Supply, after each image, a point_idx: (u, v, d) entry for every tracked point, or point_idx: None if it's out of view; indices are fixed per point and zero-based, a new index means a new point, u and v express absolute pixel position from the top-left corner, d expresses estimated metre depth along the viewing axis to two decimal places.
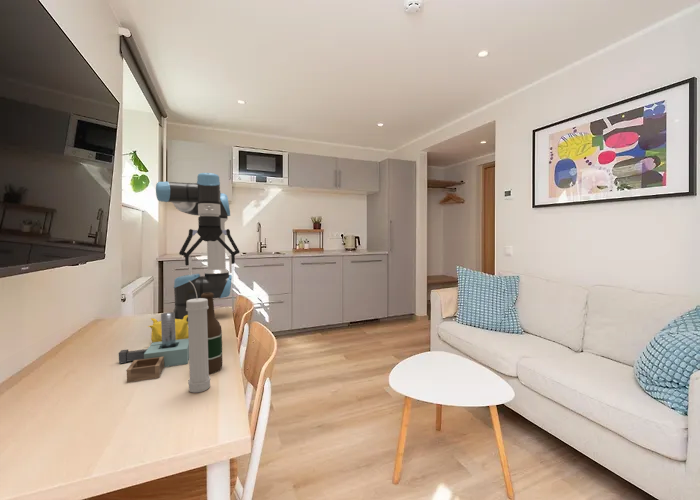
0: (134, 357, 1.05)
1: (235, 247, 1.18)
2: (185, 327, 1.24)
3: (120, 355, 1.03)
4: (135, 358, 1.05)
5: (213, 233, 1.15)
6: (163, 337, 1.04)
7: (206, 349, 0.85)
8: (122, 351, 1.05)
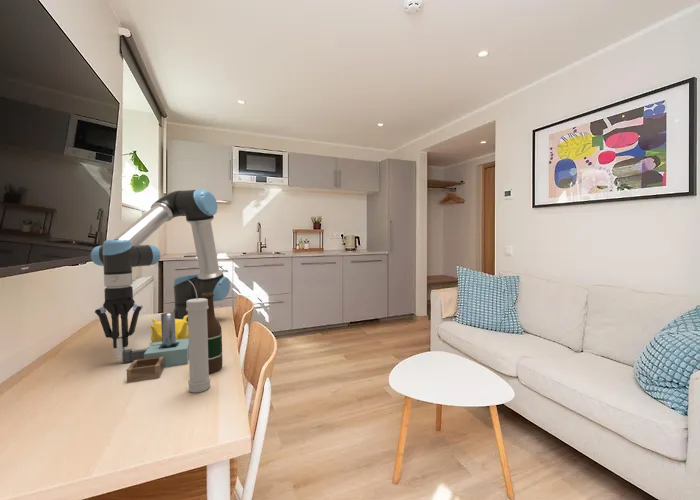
0: (138, 357, 1.06)
1: (131, 328, 1.05)
2: (185, 327, 1.24)
3: (124, 355, 1.04)
4: (139, 358, 1.06)
5: (122, 306, 1.03)
6: (163, 337, 1.04)
7: (206, 349, 0.85)
8: (126, 351, 1.05)
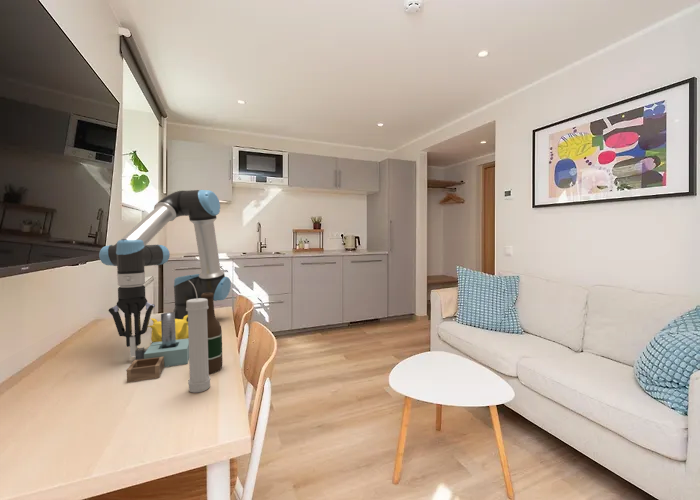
0: None
1: (144, 326, 1.06)
2: (185, 327, 1.24)
3: (137, 353, 1.05)
4: None
5: (135, 305, 1.04)
6: (163, 337, 1.04)
7: (206, 349, 0.85)
8: (138, 349, 1.06)
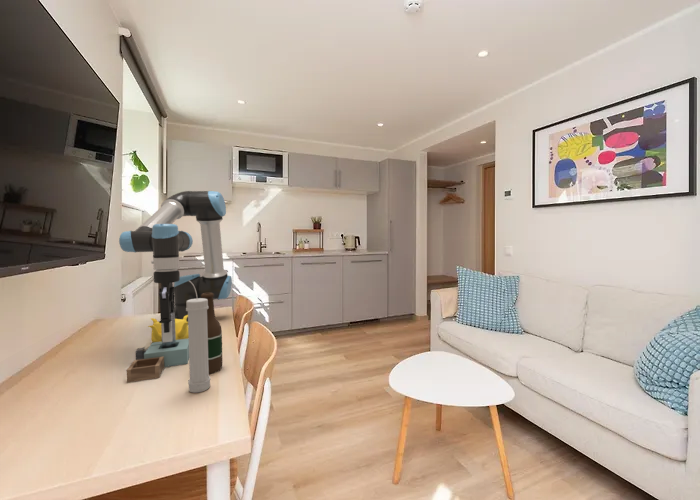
0: None
1: None
2: (185, 327, 1.24)
3: (137, 353, 1.05)
4: None
5: None
6: None
7: (206, 349, 0.85)
8: (139, 349, 1.06)
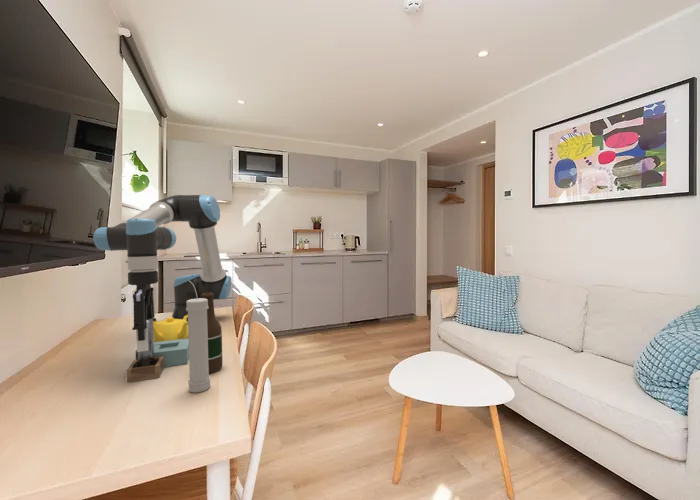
0: None
1: None
2: (185, 327, 1.24)
3: (137, 353, 1.05)
4: None
5: None
6: None
7: (206, 349, 0.85)
8: None
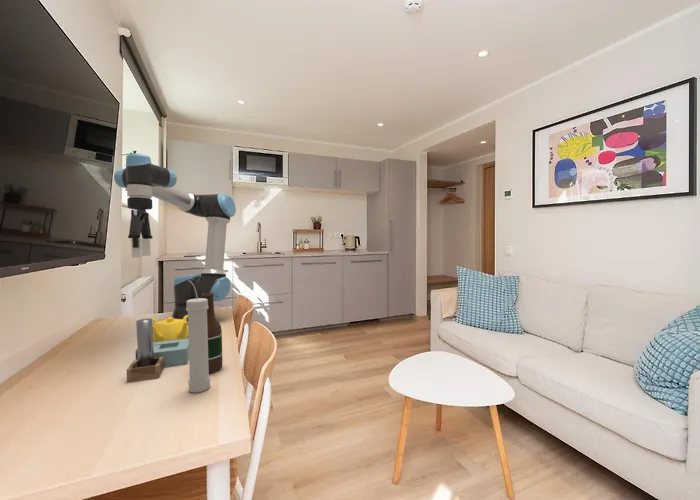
0: None
1: None
2: (185, 327, 1.24)
3: (137, 353, 1.05)
4: None
5: None
6: (139, 347, 0.93)
7: (206, 349, 0.85)
8: None
